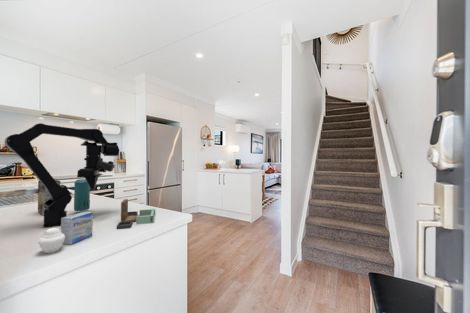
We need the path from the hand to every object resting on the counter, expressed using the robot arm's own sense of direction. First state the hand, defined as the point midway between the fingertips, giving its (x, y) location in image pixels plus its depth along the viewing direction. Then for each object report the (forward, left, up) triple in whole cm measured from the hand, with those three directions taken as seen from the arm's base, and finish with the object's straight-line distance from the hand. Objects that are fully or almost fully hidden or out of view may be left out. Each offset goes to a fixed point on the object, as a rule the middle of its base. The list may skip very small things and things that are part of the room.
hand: (92, 189), depth 96 cm
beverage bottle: (-4, +11, -13) cm, 18 cm away
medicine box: (-5, -28, -13) cm, 31 cm away
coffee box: (-17, +18, -13) cm, 28 cm away
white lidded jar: (-11, -34, -13) cm, 38 cm away
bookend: (+16, -16, -13) cm, 26 cm away
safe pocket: (+20, -17, -13) cm, 29 cm away
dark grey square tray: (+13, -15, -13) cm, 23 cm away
